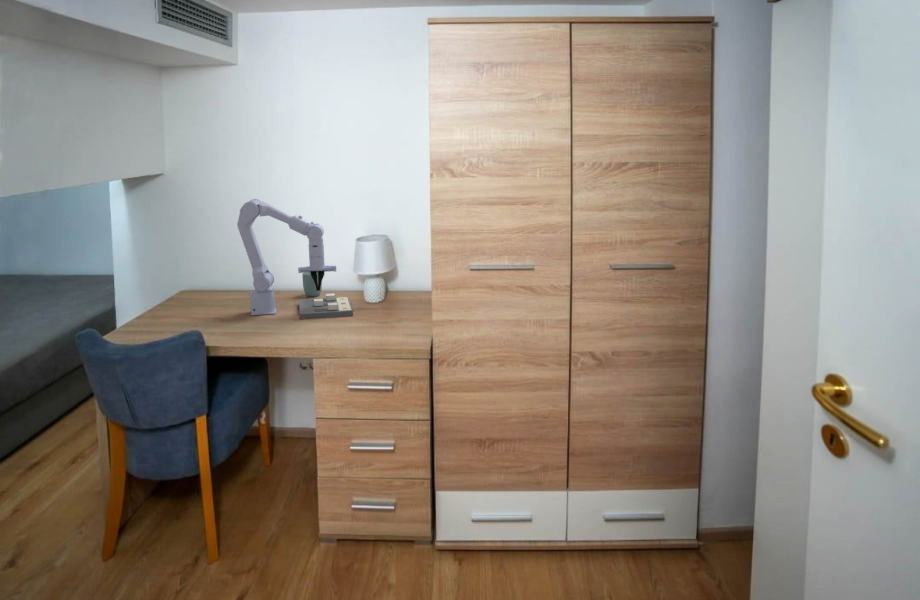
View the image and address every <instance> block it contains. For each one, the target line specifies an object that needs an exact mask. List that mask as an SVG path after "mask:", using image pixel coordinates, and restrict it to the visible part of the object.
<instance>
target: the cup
mask: <svg viewBox="0 0 920 600" xmlns="http://www.w3.org/2000/svg"><path fill="white" fill-rule="evenodd" d="M301 275H302V287H303V293H304V294H305V296H307V297H312V298H314V297H318V296H320V294H321V293H322V290H323V288H322V287H323V286H322V285H323V282H321V287H320V291H317V290H316V285H315V283H314V280H313V278H312V276H311V272H305V273H301ZM317 282H318V272H317Z"/></svg>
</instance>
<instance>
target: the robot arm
mask: <svg viewBox="0 0 920 600" xmlns="http://www.w3.org/2000/svg"><path fill="white" fill-rule="evenodd" d="M266 216H269V217H272V218H273V219H275V220H278V221H280V222H283V223H285V224H287V225H288V227H289V229H290V230H292V231H295V232H296V233H299V234H301V235H302V236H305V237H307V239H308V258H309V259H308V260H309V262H308V263H309V266H301V267H297V272H298V273H297V274H303V273H305V272H311V276H312V278H313V280H314V283H315V285H316V290H317V291H320V287H321V282H322V281H323V279H324V278H325V273H327V272H333V273H334V272H337V266H336V265H325V248H324V247H325V246H324V238H323V235H324V233H325V231H324V230H325V229H324V228H323V226H322V225H320V223H314V221H309V220H307V219H306V218H304V217H303V215H301V214H300V215H298V214H295V215H293V216H292V215H290V214H288V213H286V212H284V211H282V210H281V209H278V208H277V207H275V206H273V205H271V204H270V203H268V202H265V201H261V200H259V199H256V198H252V199H250V200H249V201H247V202H244V203H243V205H242V206H241V208H240V209H239V215H238V219H237V220H238V221H237V224H236V225H237V229H238V231H239V235H240V237H241V240H242V243H243V247H244V249H245V252H246V255H247V257H248V260H249V262H250V263H249V264H250V266H251V269H252V272H251V273H252V274H251V275H252V278H253V281H252V285H253V287H254V290H250V291H249V301H250V305H249V311H250V315H251V316H259V315H260V316H261V315H275V314H277V307H276V303H275V302H276V301H275V289H274V287H273V284H274V283H275V278H274V275H273V273H272V272H271V271H270V269H269V267H268V266H267V265H266V263H265V260H264V257H263V255H262V252H261V250H260V246H259V243H258V240H257V237H256V235H255V232H254V228H253V224H254V223H255V220H256V219H257V217H266ZM317 272H318V282H317ZM322 283H323V282H322Z"/></svg>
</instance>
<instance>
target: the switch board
mask: <svg viewBox="0 0 920 600" xmlns="http://www.w3.org/2000/svg"><path fill="white" fill-rule="evenodd" d="M314 299H315V298H301V299H298V303H299V304H298V306H299V307H298V308H299V309H298V310H299V319H300V320H302V319H301V318H310V319H322V318H323V319H324V318H337V317H338V318H339V317H341V318H342V317H353V316H354V311H353V307H352V305H351V300H350V298H349V296H338V297H337V296H335V300H330V301H326V297H320V298H316V299H323V306H314ZM328 303H337V309H338V310H328Z"/></svg>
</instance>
